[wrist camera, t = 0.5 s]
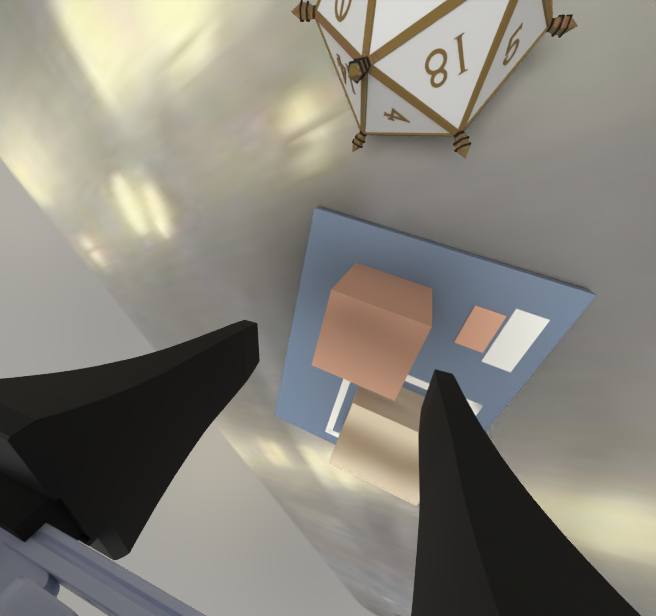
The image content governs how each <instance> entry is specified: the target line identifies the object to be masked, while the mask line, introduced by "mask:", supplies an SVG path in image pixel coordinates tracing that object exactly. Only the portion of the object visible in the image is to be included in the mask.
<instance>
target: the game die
mask: <svg viewBox="0 0 656 616" xmlns="http://www.w3.org/2000/svg"><path fill="white" fill-rule="evenodd" d="M291 12H292V13H293V14H294V15H295V16H297V17H298V18H299V19H300V22H304V20H306V21H307V22H310V20H311V19H316V22H317V24H318V27H319V29H320V32H321V34H322V37H323V39H324V42H325V44H326V47H327V49H328V52H329V54H330V57H331V59H332V62H333V64H334V67H335V69H336V72H337V74H338V77H339V79H340V82H341V84H342V87H343V89H344V92H345V94H346V97H347V99H348V102H349V104H350V106H351V109H352V111H353V114H354V116H355V119H356V121H357V124H358V126H359V129H360V132H359V133H358V134H356V136H355V139H353V141H352V143H353V150H352V152H353V151H355V150H357V149H359V148H362V145H363V143H365V141H364V140H365V137H366V135H404V136H454V137H455V143H453V145H454V146H455V148H456V149H455V150H454V151H455V152H457V153H459V154H461V155H462V156H463V157H464V158H465V159H466V156H467V152H468V149H469V146H470V145H471V142H470V143H469V140H468V139H469V136H466V135H465V133H464V130H465V129H466V128H467V127H468V125H469V124H470V123H471V122H472V121H473V119H474V118H475V117H476V116H477V114H478V113H479V112H480V111H481V110H482V108H483V107H484V106H485V105H486V104H487V102H488V101H489V100H490V99H491V97H492V96H493V95H494V94H495V93H496V91H497V90H498V89H499V88H500V87H501V85H502V84H503V83H504V82H505V80H506V79H507V78H508V77H509V76H510V74H511V73H512V72H513V71H514V70H515V68H516V67H517V66H518V65H519V63H520V62H521V61H522V60H523V59H524V57H525V56H526V55H527V54H528V53H529V51H530V50H531V49H532V48H533V46H534V45H535V44H536V43H537V42H538V40H539V39H540V38H541V37H542V36H543V34H544V33H545V32H549V33H551V34H552V37H553V36H554V35H559V38H560V37H561V36H562V35H563V34H564V33H566V32H568V31H570V30H571V29H573V28H575V27H577V24H576V23H575V21H574V19H573V18H572V16H573V15H566V17H564V16H565V15H559V16H558V17H557V18H553V12H552V0H318V1H317V4H316V5H314V6H313V5H311V4H309V1H307V3H304V2H303V1H302V0H301V2H300V4H299V5H298V6H297V7H296V8H294V9H293V10H292V11H291Z"/></svg>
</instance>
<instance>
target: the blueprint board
mask: <svg viewBox="0 0 656 616" xmlns="http://www.w3.org/2000/svg"><path fill="white" fill-rule="evenodd" d="M355 263H359V264H362V265H365V266H368V267H371V268H374V269H376V270H379V271H382V272H385V273H388V274H391V275H394V276H397V277H400V278H403V279H406V280H409V281H412V282H415V283H418V284H420V285H423V286H426V287H429V288H432V328H431V330H430V332H429V334H428V336H427V338H426V340H425V341H424V343H423V345H422V347H421V349H420V351H419V353H418V355H417V357H416V359H415V361H414V363H413V365H412V367H411V369H410V371H409V373H408V375H407V377H406V379H405V381H404V383H403V385H402V387H404V388H406V389H408V390H411V391H413V392H416V393H418V394H420V395H423V396H426V393H427V390H428V387H429V384H430V381H431V378H432V375H433V372H434V370H435V369H437V370H440V371H444V372H448V373H452V374H453V375H454V376H455V378H456V380H457V382H458V384H459V386H460V388H461V390H462V392H463V394H464V396H465V398H466V399H467V401H468V403H469V405H470V407H471V408H472V410H473V412H474V414H475V415H476V417H477V419H478V420H479V422H480V424H481V425H482V427H483V429H484V430H485V431H486V430H487V429H488V428H489V427H490V425H491V424H492V423H493V422H494V420H495V419H496V418H497V417H498V415H499V414H500V413H501V412H502V411H503V409H504V408H505V407H506V406H507V404H508V403H509V402H510V401H511V399H512V398H513V397H514V396H515V395H516V393H517V392H518V391H519V390H520V388H521V387H522V386H523V385H524V383H525V382H526V381H527V380H528V379H529V377H530V376H531V375H532V374H533V372H534V371H535V370H536V369H537V368H538V366H539V365H540V364H541V363H542V361H543V360H544V359H545V358H546V356H547V355H548V354H549V353H550V352H551V350H552V349H553V348H554V347H555V345H556V344H557V343H558V342H559V340H560V339H561V338H562V337H563V336H564V334H565V333H566V332H567V331H568V329H569V328H570V327H571V326H572V324H573V323H574V322H575V321H576V320H577V318H578V317H579V316H580V315H581V313H582V312H583V311H584V310H585V308H586V307H587V306H588V305H589V304H590V302H591V301H592V300H593V299H594V297H595V296H596V294H594V293H593V292H591V291H590V290H588V289H585V288H582V287H579V286H575V285H572V284H569V283H566V282H562V281H559V280H556V279H553V278H549V277H546V276H543V275H540V274H536V273H533V272H530V271H527V270H523V269H520V268H517V267H514V266H510V265H507V264H504V263H501V262H497V261H494V260H491V259H488V258H484V257H481V256H478V255H475V254H471V253H468V252H465V251H462V250H458V249H455V248H452V247H449V246H445V245H442V244H439V243H436V242H432V241H429V240H426V239H423V238H419V237H416V236H413V235H410V234H407V233H403V232H400V231H397V230H394V229H390V228H387V227H384V226H381V225H377V224H374V223H371V222H368V221H364V220H361V219H358V218H355V217H351V216H348V215H345V214H342V213H338V212H335V211H332V210H329V209H325V208H322V207H315V208H314V213H313V218H312V223H311V228H310V234H309V239H308V244H307V249H306V254H305V260H304V265H303V270H302V275H301V280H300V286H299V291H298V296H297V301H296V306H295V311H294V317H293V322H292V327H291V332H290V337H289V343H288V348H287V353H286V358H285V363H284V369H283V374H282V379H281V384H280V389H279V394H278V400H277V405H276V410H275V416H277V417H279V418H281V419H283V420H285V421H287V422H289V423H291V424H293V425H296V426H298V427H300V428H302V429H304V430H306V431H308V432H310V433H312V434H314V435H316V436H318V437H320V438H322V439H325V440H327V441H329V442H331V443H333V444H335V445H336V443H337V440H338V437H339V434H340V432H341V429H342V426H343V424H344V421H345V419H346V416H347V414H348V411H349V409H350V406H351V403H352V401H353V398H354V396H355V393H356V391H357V388H358V386H359V385H357V384H354V383H352V382H350V381H347V380H345V379H343V378H341V377H338V376H336V375H334V374H331V373H329V372H327V371H324V370H322V369H320V368H317V367H315V366H313V365H312V362H313V358H314V354H315V350H316V346H317V342H318V339H319V335H320V331H321V327H322V323H323V319H324V315H325V312H326V308H327V304H328V300H329V296H330V292H331V289H332V288H333V287H334V286H335V285H336V284H337V283H338V282H339V281H340V279H341V278H342V277H343V276H344V275H345V274H346V273H347V272H348V271H349V270H350V269H351V267H352V266H353V265H354V264H355Z"/></svg>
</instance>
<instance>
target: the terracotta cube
mask: <svg viewBox="0 0 656 616" xmlns="http://www.w3.org/2000/svg"><path fill="white" fill-rule="evenodd" d="M431 328H432V288H429V287H426V286H423V285H420V284H418V283H415V282H412V281H409V280H406V279H403V278H400V277H397V276H394V275H391V274H388V273H385V272H382V271H379V270H376V269H374V268H371V267H368V266H365V265H362V264H359V263H355V264H354V265H353V266H352V267H351V269H350V270H349V271H348V272H347V273H346V274H345V275H344V276H343V277H342V278H341V279H340V281H339V282H338V283H337V284H336V285H335V286H334V287H333V288H332V289H331V292H330V296H329V300H328V304H327V308H326V312H325V315H324V319H323V323H322V327H321V331H320V335H319V339H318V342H317V346H316V350H315V354H314V358H313V362H312V365H313V366H315V367H317V368H320V369H322V370H324V371H327V372H329V373H331V374H334V375H336V376H338V377H341V378H343V379H345V380H347V381H350V382H352V383H354V384H357V385H359V386H361V387H364V388H366V389H368V390H371V391H373V392H375V393H378V394H380V395H382V396H385V397H387V398H389V399H392V400H394V401H395V399H396V397H397V395H398V393H399V391H400V389H401V387H402V385H403V383H404V381H405V379H406V377H407V375H408V373H409V371H410V369H411V367H412V365H413V363H414V361H415V359H416V357H417V355H418V353H419V351H420V349H421V347H422V345H423V343H424V341H425V340H426V338H427V336H428V334H429V332H430V330H431Z"/></svg>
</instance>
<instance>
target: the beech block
mask: <svg viewBox="0 0 656 616" xmlns="http://www.w3.org/2000/svg"><path fill="white" fill-rule="evenodd" d="M424 399H425V396H423V395H420V394H418V393H416V392H413V391H411V390H408V389H406V388H404V387H401V389H400V391H399V393H398V395H397V397H396V399H395V401H394V400H392V399H389V398H387V397H385V396H382V395H380V394H378V393H375V392H373V391H371V390H368V389H366V388H364V387H361V386H358V388H357V391H356V393H355V396H354V398H353V401H352V403H351V406H350V409H349V411H348V414H347V416H346V419H345V421H344V424H343V426H342V429H341V432H340V434H339V437H338V440H337V443H336V445H335V448H334V451H333V453H332V456H331V459H330V462H329V463H330V464H332V465H334V466H336V467H338V468H340V469H342V470H344V471H346V472H348V473H350V474H352V475H354V476H356V477H358V478H360V479H362V480H364V481H366V482H368V483H370V484H372V485H374V486H376V487H378V488H380V489H382V490H384V491H386V492H388V493H390V494H393V495H395V496H397V497H399V498H401V499H403V500H405V501H407V502H409V503H411V504H413V505H415V506H417V504H418V503H419V502H420V495H419V447H418V433H419V423H420V413H421V407H422V404H423V401H424Z"/></svg>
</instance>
